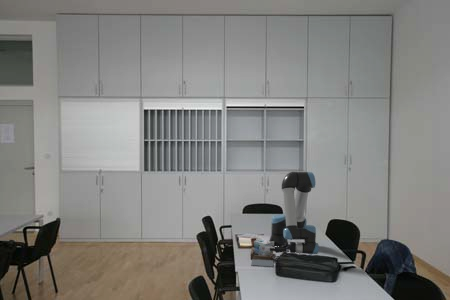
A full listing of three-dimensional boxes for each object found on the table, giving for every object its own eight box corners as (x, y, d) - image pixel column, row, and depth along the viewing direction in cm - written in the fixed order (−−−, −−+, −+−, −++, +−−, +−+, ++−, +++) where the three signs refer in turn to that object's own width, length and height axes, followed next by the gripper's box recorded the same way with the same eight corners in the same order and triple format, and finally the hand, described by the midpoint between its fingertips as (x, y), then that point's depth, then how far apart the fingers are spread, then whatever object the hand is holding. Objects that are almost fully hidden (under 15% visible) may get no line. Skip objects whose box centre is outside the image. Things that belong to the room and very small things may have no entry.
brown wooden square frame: (251, 252, 253) (251, 246, 253) (273, 253, 251) (273, 248, 251) (250, 259, 238) (250, 253, 238) (273, 260, 236) (273, 254, 236)
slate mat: (252, 259, 237) (252, 258, 237) (272, 261, 235) (272, 260, 235) (251, 265, 225) (251, 264, 225) (272, 267, 223) (272, 266, 223)
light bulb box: (253, 255, 246) (253, 240, 246) (259, 253, 251) (259, 238, 251) (265, 259, 238) (265, 243, 238) (271, 257, 243) (271, 242, 243)
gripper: (297, 258, 228) (264, 256, 231) (294, 247, 253) (265, 246, 256) (297, 247, 228) (265, 245, 231) (294, 237, 253) (265, 235, 256)
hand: (264, 245), depth 243 cm, fingers open, 13 cm apart
